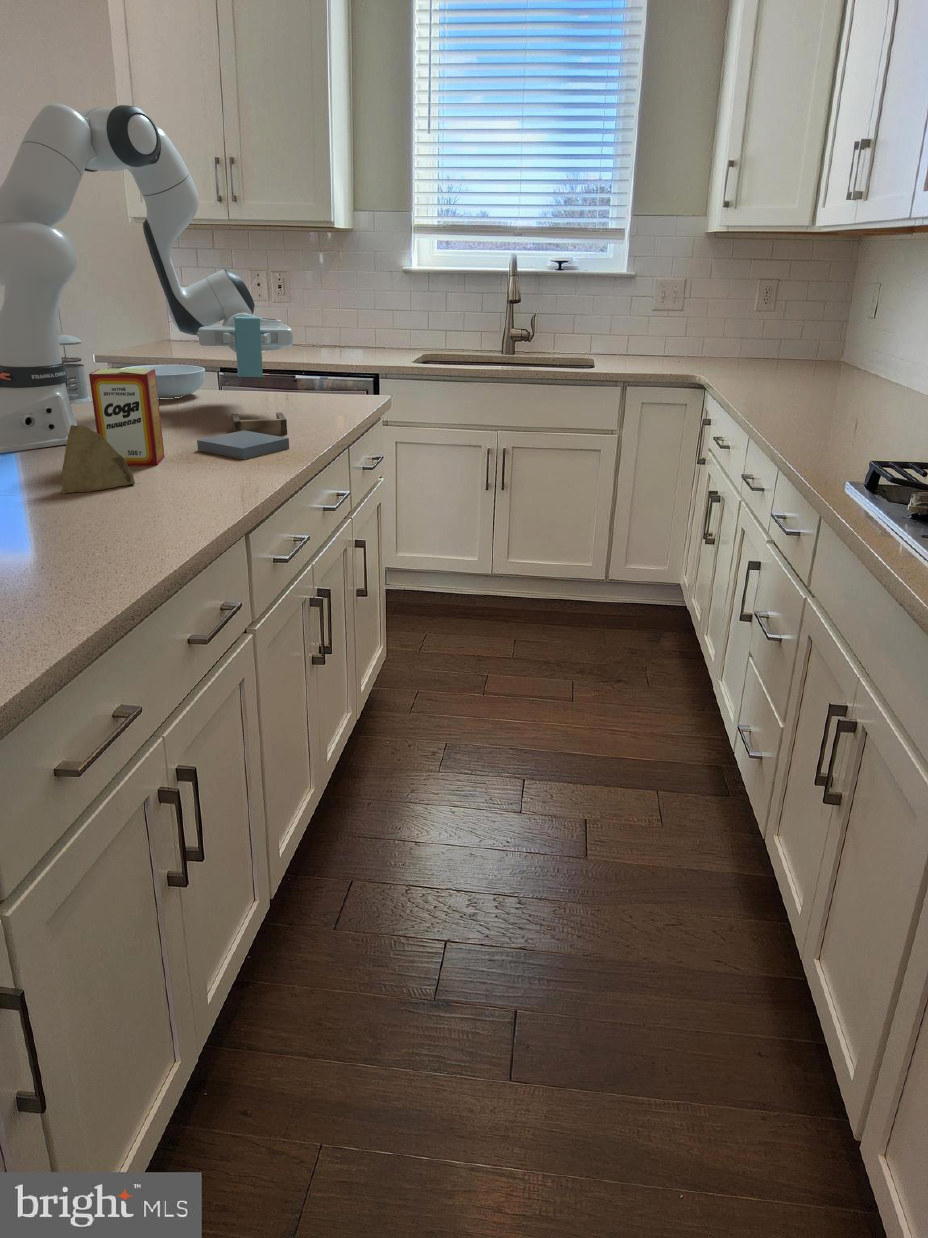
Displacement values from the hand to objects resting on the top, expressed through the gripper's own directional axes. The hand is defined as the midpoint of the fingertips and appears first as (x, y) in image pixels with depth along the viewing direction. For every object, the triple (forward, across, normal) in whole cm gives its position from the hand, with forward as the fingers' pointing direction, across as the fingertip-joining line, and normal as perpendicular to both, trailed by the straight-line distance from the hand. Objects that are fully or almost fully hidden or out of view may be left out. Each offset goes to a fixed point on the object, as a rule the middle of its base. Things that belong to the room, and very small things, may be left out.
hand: (248, 339), depth 194 cm
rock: (+54, -28, +18) cm, 64 cm away
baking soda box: (+36, -24, +18) cm, 47 cm away
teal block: (-1, 0, +8) cm, 8 cm away
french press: (-34, -41, +18) cm, 56 cm away
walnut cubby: (+12, 0, +17) cm, 21 cm away
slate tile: (+30, -4, +17) cm, 35 cm away
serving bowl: (-36, -19, +17) cm, 44 cm away
